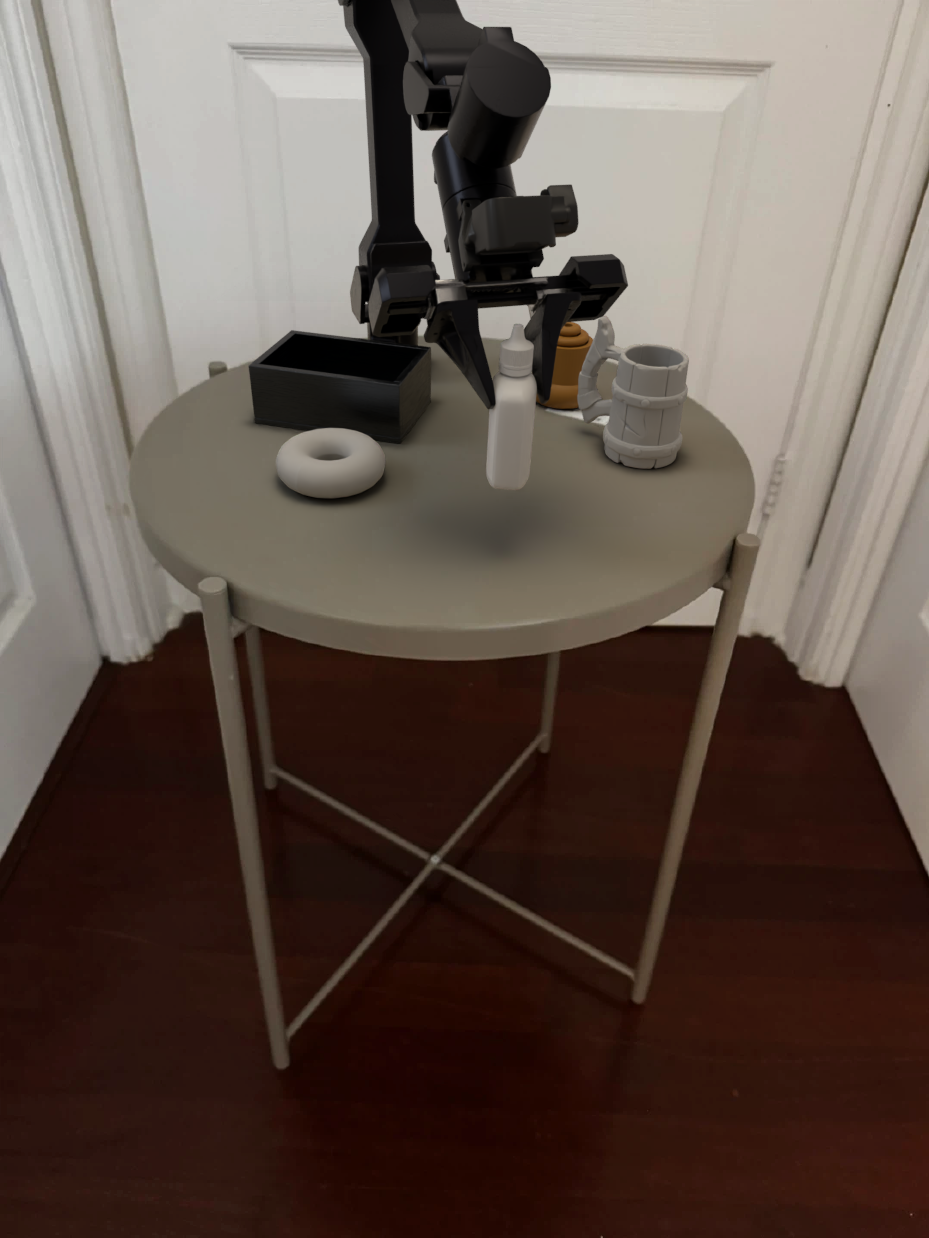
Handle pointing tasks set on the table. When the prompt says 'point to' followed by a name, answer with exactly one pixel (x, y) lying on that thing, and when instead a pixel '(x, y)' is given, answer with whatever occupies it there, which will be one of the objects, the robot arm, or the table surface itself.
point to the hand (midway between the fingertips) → (518, 404)
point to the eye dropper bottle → (512, 414)
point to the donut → (330, 463)
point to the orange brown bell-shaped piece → (568, 366)
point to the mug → (636, 399)
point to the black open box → (342, 384)
